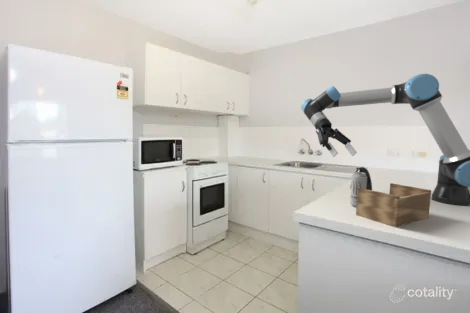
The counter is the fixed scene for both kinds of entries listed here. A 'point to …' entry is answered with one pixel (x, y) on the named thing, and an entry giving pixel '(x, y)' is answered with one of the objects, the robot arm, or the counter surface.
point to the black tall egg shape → (369, 183)
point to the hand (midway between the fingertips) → (345, 154)
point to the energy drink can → (357, 186)
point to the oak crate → (394, 205)
